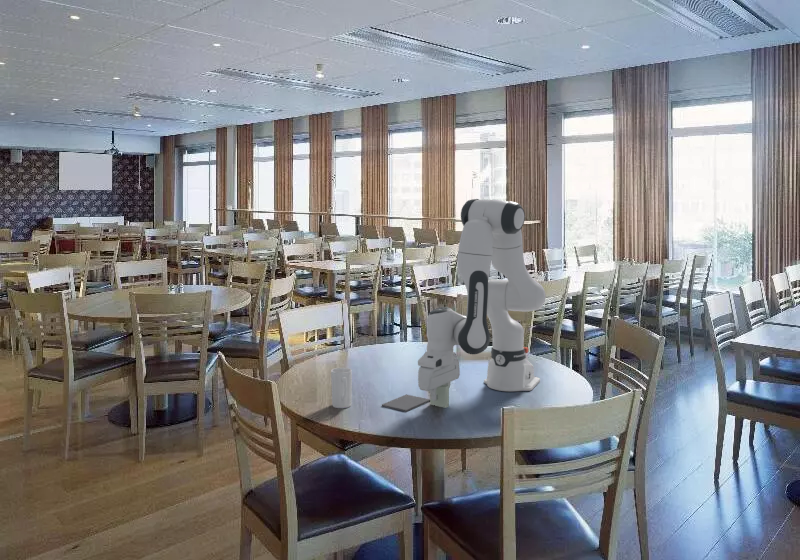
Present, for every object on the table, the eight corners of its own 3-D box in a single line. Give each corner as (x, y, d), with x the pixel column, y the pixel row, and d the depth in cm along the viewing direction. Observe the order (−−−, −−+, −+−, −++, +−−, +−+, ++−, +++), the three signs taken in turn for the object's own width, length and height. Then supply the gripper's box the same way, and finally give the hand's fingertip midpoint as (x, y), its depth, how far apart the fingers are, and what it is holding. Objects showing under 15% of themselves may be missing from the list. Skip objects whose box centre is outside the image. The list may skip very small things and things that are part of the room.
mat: (406, 396, 240) (406, 394, 239) (430, 401, 234) (430, 399, 234) (381, 406, 228) (381, 404, 228) (406, 411, 222) (406, 410, 222)
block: (433, 403, 232) (433, 382, 231) (448, 406, 228) (449, 385, 227) (430, 404, 230) (430, 384, 229) (445, 407, 227) (445, 387, 226)
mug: (329, 403, 232) (329, 368, 230) (349, 401, 233) (349, 367, 232) (335, 412, 222) (335, 376, 220) (356, 410, 224) (355, 374, 222)
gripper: (448, 349, 237) (448, 388, 239) (414, 361, 221) (414, 403, 222) (464, 352, 233) (464, 391, 235) (431, 364, 217) (431, 407, 219)
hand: (439, 397), depth 229 cm, fingers open, 5 cm apart
